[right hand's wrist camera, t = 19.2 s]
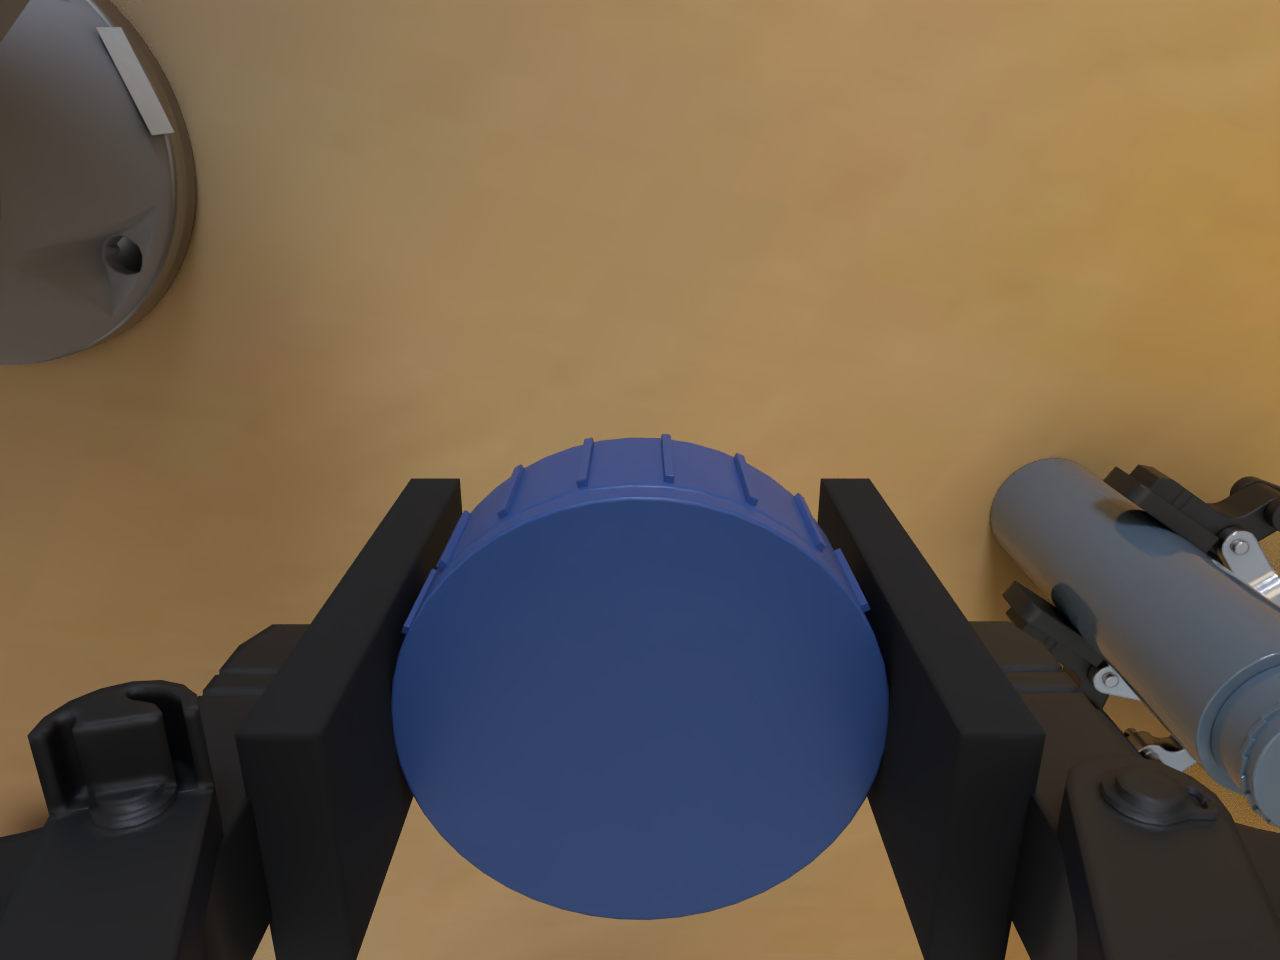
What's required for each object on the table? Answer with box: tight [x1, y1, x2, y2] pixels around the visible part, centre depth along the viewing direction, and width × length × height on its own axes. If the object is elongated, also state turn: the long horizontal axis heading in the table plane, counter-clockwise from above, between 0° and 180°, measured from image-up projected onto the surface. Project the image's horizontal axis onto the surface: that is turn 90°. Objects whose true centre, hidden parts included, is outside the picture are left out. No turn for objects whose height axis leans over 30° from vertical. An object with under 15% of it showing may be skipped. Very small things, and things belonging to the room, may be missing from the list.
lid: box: [391, 434, 889, 920], centre depth 11 cm, size 6×6×2 cm
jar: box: [990, 458, 1280, 828], centre depth 31 cm, size 5×5×18 cm
